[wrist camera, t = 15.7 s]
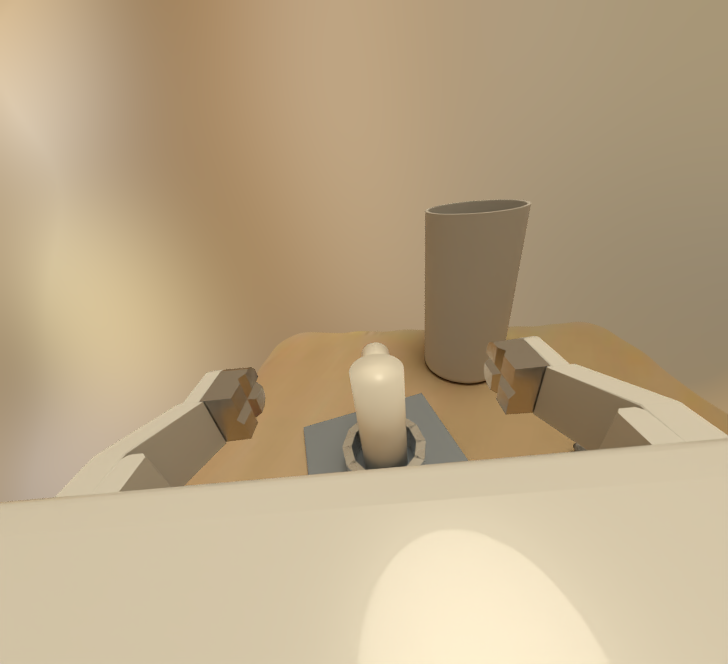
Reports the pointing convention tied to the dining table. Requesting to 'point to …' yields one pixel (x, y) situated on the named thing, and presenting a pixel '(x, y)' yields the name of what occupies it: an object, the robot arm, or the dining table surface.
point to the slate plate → (330, 458)
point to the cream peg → (380, 407)
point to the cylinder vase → (470, 282)
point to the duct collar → (354, 446)
